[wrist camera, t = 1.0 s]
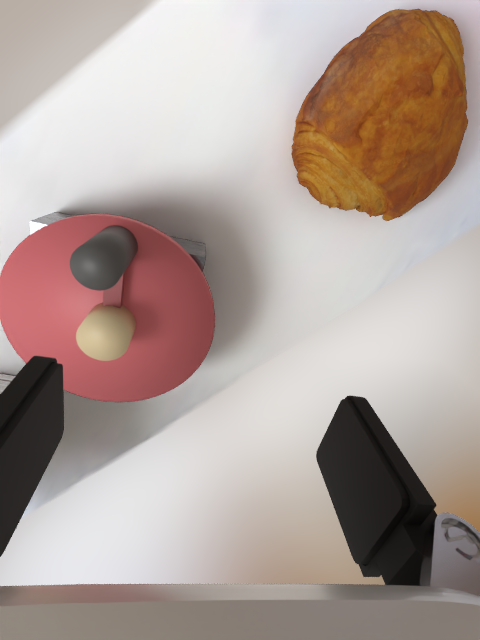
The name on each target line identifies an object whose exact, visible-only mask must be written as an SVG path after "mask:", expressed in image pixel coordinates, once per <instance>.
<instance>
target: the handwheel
mask: <svg viewBox="0 0 480 640" xmlns="http://www.w3.org/2000/svg"><path fill="white" fill-rule="evenodd" d="M0 320H1V323H2V326H3V329H4V332H5V334H6V336H7V338H8V340H9V342H10V343H11V345H12V346H13V348H14V349H15V351H16V352H17V354H18V355H19V356H20V357H21V358H22V359H23V360H24V362H25V363H26V364H27V363H28V361H29V360H30V359H31V358H32V357H33V356H43V357H51V358H56V360H57V363H59V364H62V365H63V389H64V390H66V391H68V392H70V393H73V394H76V395H79V396H81V397H85V398H89V399H93V400H100V401H106V402H132V401H139V400H145V399H149V398H153V397H156V396H158V395H161V394H164V393H166V392H168V391H170V390H172V389H174V388H176V387H177V386H179V385H180V384H182V383H183V382H184V381H186V380H187V379H188V378H189V377H190V376H191V375H192V374H193V373H194V372H195V371H196V370H197V369H198V368H199V366H200V365H201V363H202V362H203V360H204V359H205V357H206V355H207V353H208V351H209V349H210V346H211V343H212V339H213V334H214V328H215V313H214V305H213V298H212V295H211V291H210V288H209V285H208V283H207V281H206V278H205V276H204V274H203V273H202V271H201V269H200V268H199V266H198V264H197V263H196V262H195V261H194V259H193V258H192V257H191V256H190V254H189V253H188V252H187V251H186V250H185V249H184V248H182V247H181V246H180V245H179V244H178V243H177V242H176V241H174V240H173V239H172V238H170V237H169V236H168V235H166V234H165V233H163V232H161V231H159V230H158V229H156V228H154V227H152V226H150V225H147V224H145V223H143V222H140V221H137V220H134V219H130V218H127V217H123V216H117V215H110V214H85V215H76V216H72V217H69V218H65V219H61V220H59V221H56V222H54V223H52V224H49V225H47V226H45V227H42V228H41V229H39V230H37V231H36V232H34V233H32V234H31V235H29V236H28V237H27V238H26V239H25V240H23V241H22V242H21V243H20V244H19V245H18V246H17V247H16V249H15V250H14V251H13V252H12V253H11V255H10V256H9V258H8V260H7V262H6V263H5V265H4V267H3V270H2V273H1V276H0Z"/></svg>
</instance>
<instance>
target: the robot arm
mask: <svg viewBox="0 0 480 640" xmlns="http://www.w3.org/2000/svg"><path fill="white" fill-rule="evenodd" d="M63 430H64V401H63V365H62V364H59V363H57V360H56V358H51V357H43V356H33V357H32V358H31V359H30V360H29V361H28V363H27V364H26V365H25V366H24V367H23V368H22V370H21V371H20V372H19V373H18V374H17V375H16V377H15V378H14V379H13V380H12V381H11V382H10V384H9V385H8V386H7V387H6V388H5V389H4V390H3V392H2V393H1V394H0V557H1V555H2V554H3V552H4V550H5V549H6V546H7V544H8V543H9V541H10V538H11V537H12V535H13V533H14V531H15V529H16V527H17V525H18V523H19V521H20V519H21V517H22V515H23V513H24V511H25V509H26V507H27V505H28V503H29V501H30V499H31V497H32V495H33V493H34V491H35V490H36V488H37V486H38V484H39V482H40V480H41V478H42V476H43V474H44V472H45V470H46V468H47V466H48V464H49V462H50V460H51V458H52V456H53V454H54V452H55V450H56V448H57V446H58V444H59V442H60V440H61V438H62V435H63ZM316 457H317V462H318V465H319V468H320V470H321V473H322V475H323V478H324V481H325V484H326V487H327V489H328V492H329V495H330V497H331V500H332V503H333V505H334V508H335V511H336V514H337V516H338V519H339V522H340V525H341V527H342V530H343V533H344V535H345V538H346V541H347V543H348V546H349V549H350V552H351V555H352V557H353V559H354V561H355V562H356V563H357V564H359V566H360V569H361V571H362V574H363V576H364V577H379V576H380V575H382V577H383V580H384V582H385V585H353V584H348V585H347V584H344V585H343V584H340V585H339V584H79V585H78V584H76V585H34V586H0V640H480V533H479V532H478V531H477V530H476V529H475V528H474V527H473V526H472V525H471V524H469V523H468V522H467V521H465V520H464V519H462V518H460V517H458V516H456V515H454V514H450V513H440V514H439V515H437V514H436V512H435V511H434V508H435V507H436V503H435V502H434V500H433V499H432V497H431V496H430V494H429V493H428V491H427V490H426V488H425V487H424V485H423V484H422V482H421V481H420V479H419V478H418V476H417V475H416V473H415V472H414V470H413V469H412V467H411V466H410V464H409V463H408V461H407V460H406V458H405V457H404V455H403V454H402V452H401V451H400V449H399V448H398V446H397V445H396V443H395V442H394V440H393V439H392V437H391V436H390V434H389V433H388V431H387V430H386V428H385V427H384V425H383V424H382V422H381V421H380V419H379V418H378V416H377V415H376V413H375V412H374V410H373V409H372V407H371V405H370V404H369V403H368V401H367V400H366V399H365V398H363V397H356V396H347V397H346V398H345V399H343V400H342V401H341V402H340V404H339V406H338V408H337V410H336V412H335V414H334V417H333V419H332V421H331V423H330V425H329V427H328V429H327V431H326V433H325V435H324V437H323V439H322V442H321V444H320V446H319V448H318V451H317V455H316Z"/></svg>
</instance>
